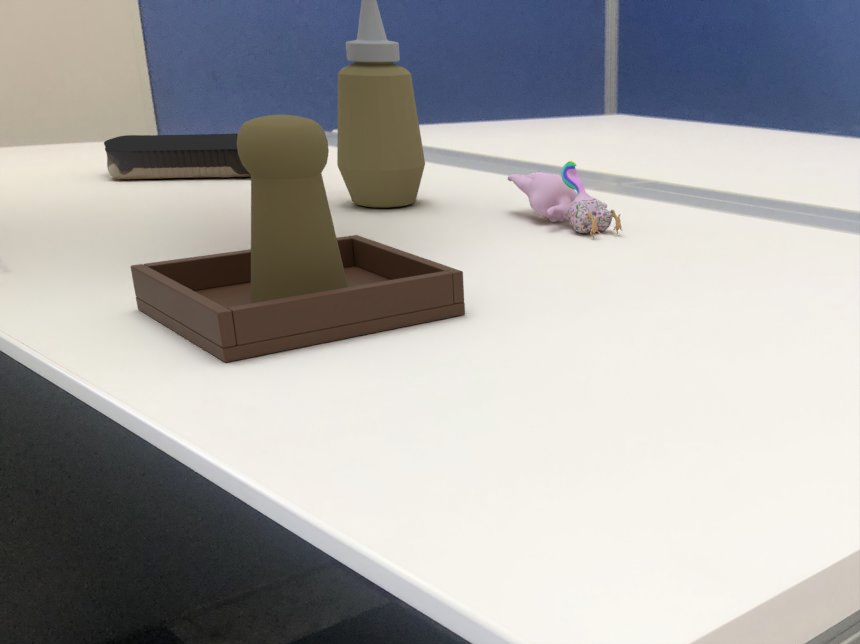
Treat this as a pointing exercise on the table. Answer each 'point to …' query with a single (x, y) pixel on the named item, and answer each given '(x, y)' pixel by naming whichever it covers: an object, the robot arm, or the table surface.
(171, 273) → the tray
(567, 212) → the pink figurine
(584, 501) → the table surface
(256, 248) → the cork
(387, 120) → the squeeze bottle
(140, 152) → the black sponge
